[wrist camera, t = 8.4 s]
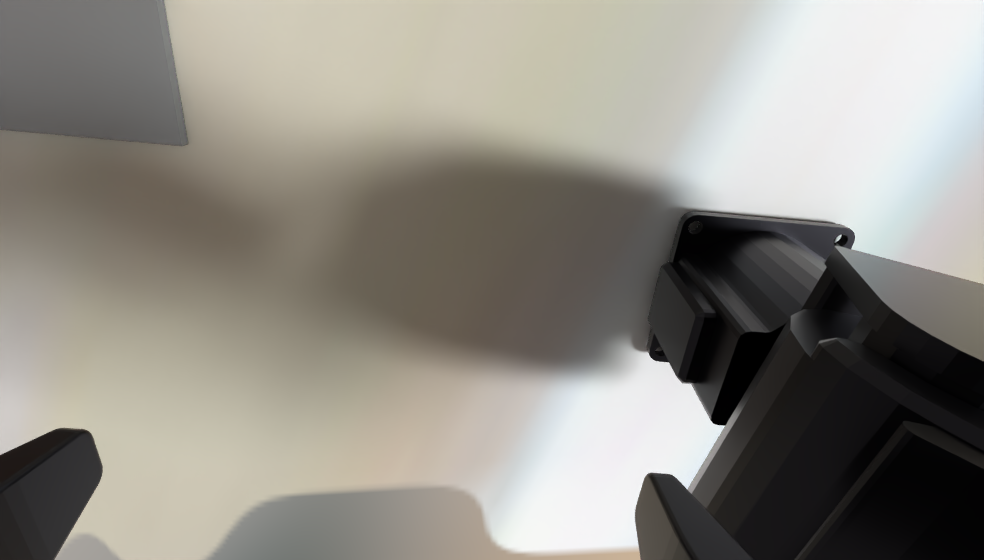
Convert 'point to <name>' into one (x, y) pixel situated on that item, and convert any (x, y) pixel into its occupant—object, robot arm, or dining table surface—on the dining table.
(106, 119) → the mat
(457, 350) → the dining table surface
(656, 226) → the dining table surface
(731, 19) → the dining table surface
